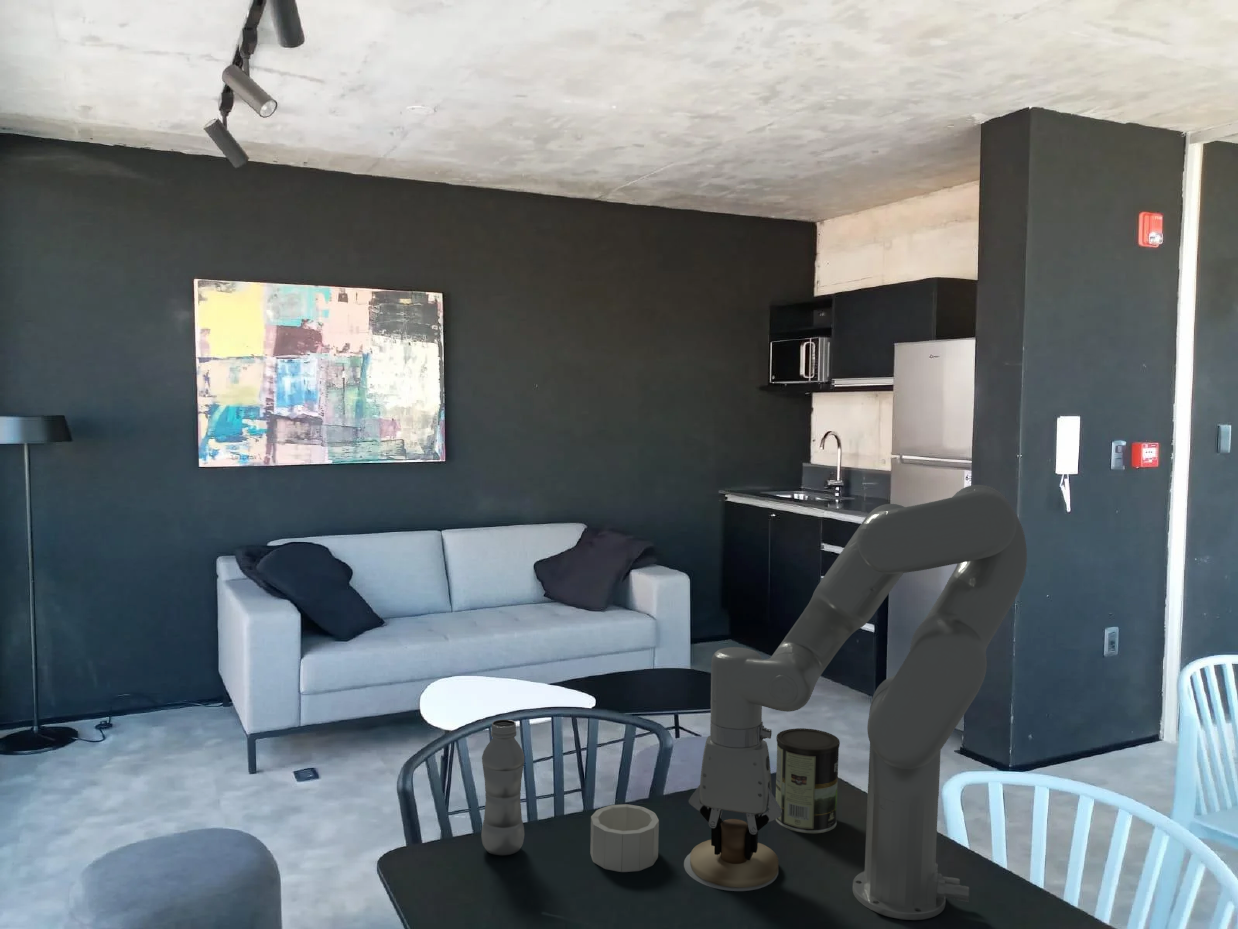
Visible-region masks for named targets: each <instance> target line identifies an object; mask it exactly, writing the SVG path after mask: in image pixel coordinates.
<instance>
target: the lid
mask: <svg viewBox="0 0 1238 929" xmlns="http://www.w3.org/2000/svg"><path fill="white" fill-rule="evenodd" d="M722 821H723V822H722V823H721V853H720V854H718V855H715V854H714V847H715V846H711V839H707V840H704V841H702V842H700V843H698V844H697V845H695V846H694V847H693V849H691V852H690V853H691V855H690V865H691V868H692V870H693V872H694V873H695V874H696V875H698V876H699V877H700V878H702V879H704V880H706V881H708V882H711V883H714V884H717V885H721V886H727V887H753V886H758V885H761V884H764V883H767V882H769V881H770V880H772V879H773V878H774V877H775V876H776V875H777V873H778V874H779V858H778V857H779V856H778V855H777V854H776V852H775V851H774V850H772V848H770V847H768V846H767V845H765V844H763V843H760V842H758V848H757V852H756V853H754V852H753V855H752V857H751V859H750V860H746V859H745V835H746V832H747V831H748V822H747V821H745V820H742V819H738V818H729V819H725V820H722Z"/></svg>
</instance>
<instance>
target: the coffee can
mask: <svg viewBox="0 0 1238 929" xmlns="http://www.w3.org/2000/svg"><path fill="white" fill-rule="evenodd" d="M840 744H841V741H840V739H839V738H838V737H837V736H836V735H834V734H832V733H831V732H827V731H824V730H819V729H814V728H804V727H802V728H799V727H798V728H789V729H784V730H782V731H779V732H778V733H777V734H776V776H775V799H776V801H777V803H778V804H779V806H780V808H781V809H782V814H781V816H780V817H779V818H777V819H775V820H774V821H776V822H777V823H778V824H779V825H780V826H781V827H783V828H786V829H788V830H790V831H792V832H798V833H802V834H803V833H804V834H821V833H826V832H830V831H831V830H833V829H835V828H836V826H837V824H838V823H837V808H838V807H837V805H838V778H839V755H840V754H839V752H840V751H839V750H840Z"/></svg>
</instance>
